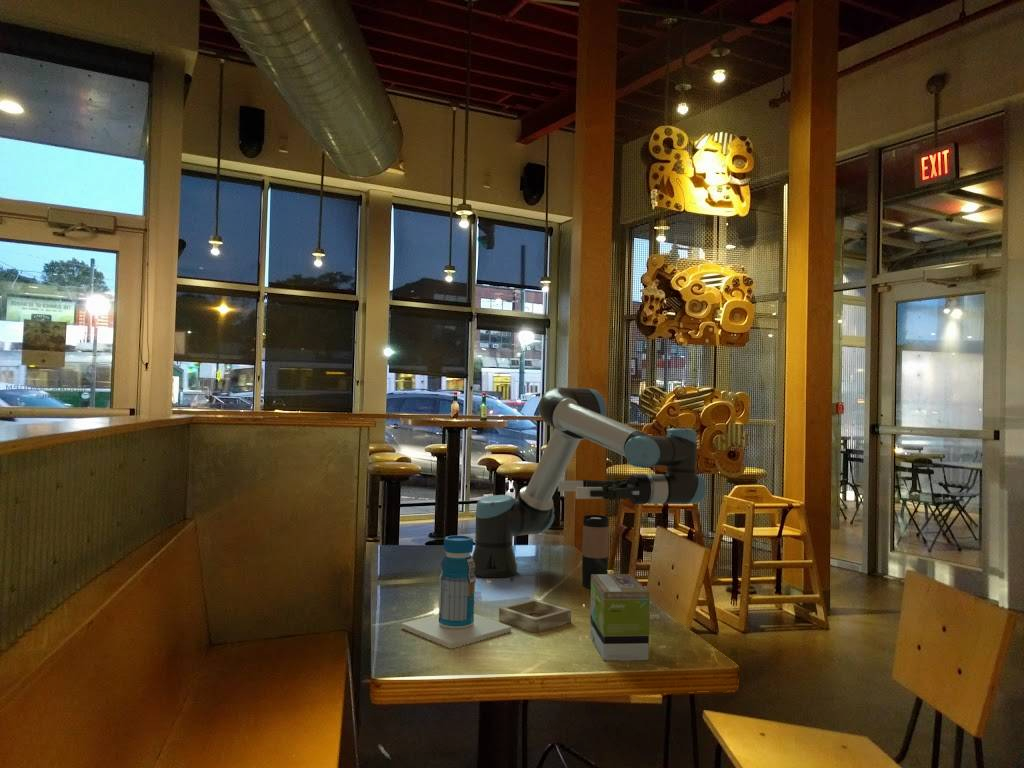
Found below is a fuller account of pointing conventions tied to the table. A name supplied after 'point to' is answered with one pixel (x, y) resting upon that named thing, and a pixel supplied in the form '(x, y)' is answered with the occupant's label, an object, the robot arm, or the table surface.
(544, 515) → the robot arm
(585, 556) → the travel mug
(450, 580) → the beverage bottle
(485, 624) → the serving board
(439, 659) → the table surface
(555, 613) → the collar
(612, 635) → the tea box
